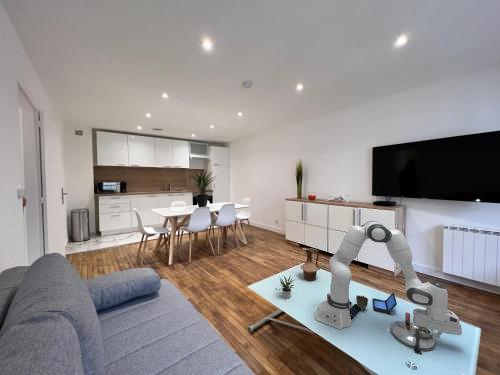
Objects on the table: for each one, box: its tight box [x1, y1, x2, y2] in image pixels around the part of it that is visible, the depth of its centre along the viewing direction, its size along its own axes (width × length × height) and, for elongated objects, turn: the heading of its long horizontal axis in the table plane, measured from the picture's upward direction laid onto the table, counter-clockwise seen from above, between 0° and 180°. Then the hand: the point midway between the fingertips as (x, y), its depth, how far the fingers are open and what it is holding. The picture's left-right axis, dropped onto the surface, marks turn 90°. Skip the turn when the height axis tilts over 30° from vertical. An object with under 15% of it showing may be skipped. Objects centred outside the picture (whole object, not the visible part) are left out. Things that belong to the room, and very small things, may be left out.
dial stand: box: [412, 323, 423, 355], centre depth 112 cm, size 3×8×12 cm, turn 155°
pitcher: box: [300, 247, 321, 282], centre depth 191 cm, size 18×17×28 cm
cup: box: [355, 295, 369, 311], centre depth 146 cm, size 8×7×8 cm
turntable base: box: [390, 330, 436, 353], centre depth 120 cm, size 20×20×1 cm
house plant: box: [279, 275, 297, 300], centre depth 162 cm, size 14×14×16 cm
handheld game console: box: [372, 292, 398, 315], centre depth 147 cm, size 16×13×9 cm
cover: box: [419, 326, 432, 340], centre depth 118 cm, size 7×7×5 cm
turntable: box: [390, 311, 435, 349], centre depth 120 cm, size 20×20×8 cm
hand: (435, 336), depth 115 cm, fingers closed
